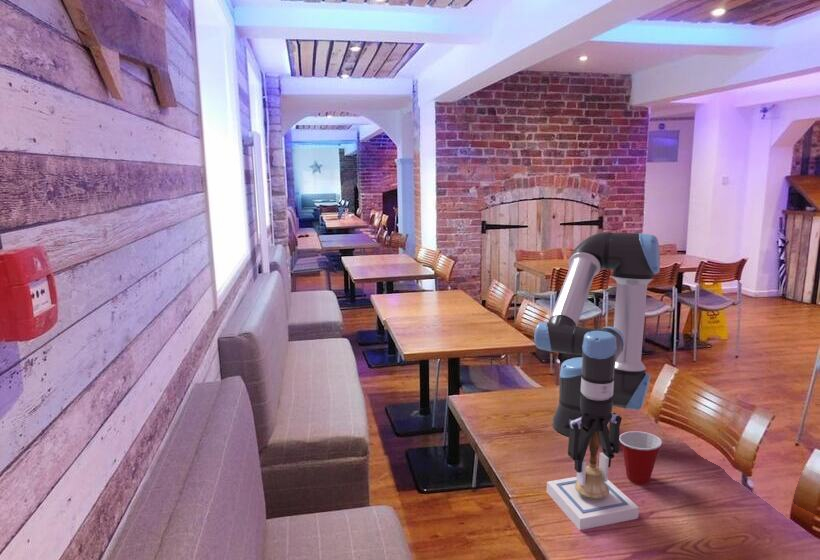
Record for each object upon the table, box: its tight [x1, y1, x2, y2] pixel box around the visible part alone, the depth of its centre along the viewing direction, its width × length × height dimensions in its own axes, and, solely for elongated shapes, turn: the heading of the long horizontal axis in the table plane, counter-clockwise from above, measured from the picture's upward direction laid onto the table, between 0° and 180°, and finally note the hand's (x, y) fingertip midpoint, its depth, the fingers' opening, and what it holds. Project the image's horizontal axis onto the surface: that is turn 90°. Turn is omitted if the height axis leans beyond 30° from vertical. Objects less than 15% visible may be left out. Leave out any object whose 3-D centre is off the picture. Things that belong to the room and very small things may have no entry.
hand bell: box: [575, 431, 609, 498], centre depth 134 cm, size 8×8×16 cm
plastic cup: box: [619, 430, 663, 485], centre depth 146 cm, size 11×11×12 cm
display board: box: [546, 476, 640, 531], centre depth 136 cm, size 16×16×3 cm
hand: (591, 480), depth 135 cm, fingers closed on hand bell, 6 cm apart
